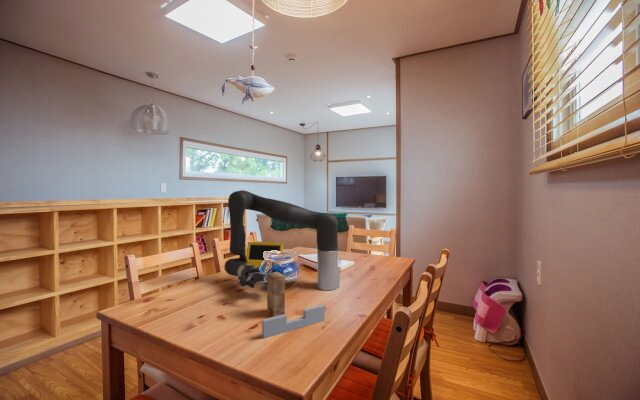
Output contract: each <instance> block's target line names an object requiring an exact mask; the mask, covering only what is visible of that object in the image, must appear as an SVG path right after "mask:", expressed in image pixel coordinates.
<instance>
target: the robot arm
mask: <svg viewBox="0 0 640 400" xmlns="http://www.w3.org/2000/svg"><path fill="white" fill-rule="evenodd" d="M227 202H228V213H229V221H230V222H229V224H230V234H229V235H230V237H229V238H230V239H229V253H230V254H232V255H235V256H238V257H236V258H229V259H227V260H226V261H225V263H224V270H225V272H226V273H227V274H228V275H231V276H233V277H237V278H238V279H237V281H238V282H237V283H238V284H239V285H240V286H241V287H248V288H249V287H250V288H252V289H254V288H255V285H256V284H257V283H264V284H267V273H271V272H260V270H259V269H258V268H256V267H257V266H253V265H251V264H248V263H247V259H246V254H247V253H246V240H247V239H246V236H247V235H246V230H245V226H244V215H245V210H249V211H255V212H258V213H260V214H261V213H262V214H263V215H265V216H267V217H268V218H269V219H272V220H274V221H276V222H277V221H278V222H281V223H284V224H289V225H295V226H296V225H298V226H306V227H311V228H314V229H316V245H317V246H316V247H317V262H316V263H317V266H316V267H317V271H316V273H317V275H316V276H317V277H316V279H317V280H316V281H317V282H316V283H317V289H319V290H321V291H322V290H323V291H333V290H336V289H338V288H340V266H339V263H338V262H339V260H338V259H339V256H338V254H339V253H338V252H339V250H338V249H339V247H338V246H339V243H338V242H339V241H338V235H339V234H338V232H339V231H338V227H339V221H338V218H337V217H336V216H335V215H334V214H331V213H326V212H319V211H313V210H310V209H307V208H304V207H301V206H299V205H295V204H292V203H289V202H286V201H284V200H283V201H282V200H278V199H275V198H274V199H273V198H269V197H264V196H261V195H258V194H255V193H252V192H250V191H248V190H243V189H242V190H236V191H233V192H232V193H231V194H229V196H228V201H227Z"/></svg>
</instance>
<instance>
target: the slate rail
mask: <svg viewBox="0 0 640 400" xmlns="http://www.w3.org/2000/svg"><path fill="white" fill-rule="evenodd" d="M325 311H326V310H325V305H323V304H319V305H315V306H310V307H307V308H304V309H302V316H300V317H298V318H297V317H296V318H294V319H291V320H287V315H286V314H285V315H284V314H283V315H279V316H275V317H273V316H272V317H268V318H265V319H264V318H263V319H261V336H262V338H263V339H267V338H270V337H273V336H277V335H280V334H284V333H287V332H290V331H294V330H297V329H300V328H304V327H308V326H310V325H314V324H317V323H321V322H324V321H325V317H326V316H325V314H326V313H325Z"/></svg>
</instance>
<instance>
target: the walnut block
mask: <svg viewBox="0 0 640 400" xmlns="http://www.w3.org/2000/svg"><path fill="white" fill-rule="evenodd" d="M266 274H267V282H266V292H267V293H266V305H267V306H266V307H267V308H266V311H267V313H272V317H275V316H279V315H283V314H284V315H286V312H285V311H286V308H285V307H286V302H285V301H286V299H285V295H286V292H285V291H286V288H285V287H286V285H285V284H286V283H285V281H286V280H285V279H286V277H285V274H282V273H280V272H278V271H276V272H273V273H267V272H266Z"/></svg>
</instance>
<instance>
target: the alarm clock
mask: <svg viewBox="0 0 640 400" xmlns="http://www.w3.org/2000/svg"><path fill="white" fill-rule="evenodd" d="M271 250H278V251H281V252H284V243H282V242H274V241H248V242H247V248H246V253H245V254H246V259H247V263H248V264H251V265H253V266H254V267H256V268H258V269H259V267H260V266H261V263H262V262H263V261H264V258H263V252H264V251H271Z"/></svg>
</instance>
